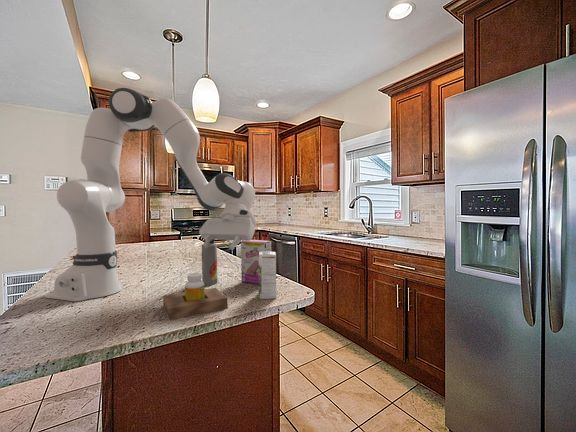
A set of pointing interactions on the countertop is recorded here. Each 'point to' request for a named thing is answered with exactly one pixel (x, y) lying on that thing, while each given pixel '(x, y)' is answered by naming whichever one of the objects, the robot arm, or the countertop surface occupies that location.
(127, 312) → the countertop surface
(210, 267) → the lotion bottle
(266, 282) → the syrup box
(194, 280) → the supplement bottle
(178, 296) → the socket block
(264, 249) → the candy bar box
